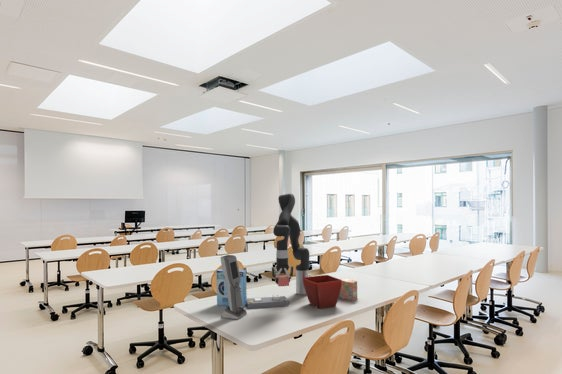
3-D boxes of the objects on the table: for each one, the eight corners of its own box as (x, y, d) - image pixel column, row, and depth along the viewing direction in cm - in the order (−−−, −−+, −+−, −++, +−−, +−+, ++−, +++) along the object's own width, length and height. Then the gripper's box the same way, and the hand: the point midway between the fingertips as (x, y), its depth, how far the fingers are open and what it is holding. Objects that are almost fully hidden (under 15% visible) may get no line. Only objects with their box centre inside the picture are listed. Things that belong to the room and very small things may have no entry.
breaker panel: (284, 300, 231) (284, 294, 232) (288, 305, 220) (288, 299, 220) (246, 303, 227) (246, 297, 227) (247, 308, 215) (247, 302, 215)
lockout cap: (286, 282, 219) (286, 275, 220) (289, 285, 212) (289, 277, 212) (276, 283, 218) (276, 275, 218) (278, 286, 210) (278, 278, 211)
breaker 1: (260, 301, 225) (260, 298, 225) (261, 303, 220) (261, 300, 220) (254, 302, 224) (254, 298, 225) (255, 304, 219) (255, 300, 220)
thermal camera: (229, 311, 210) (228, 254, 211) (247, 313, 205) (247, 255, 207) (218, 317, 199) (218, 257, 201) (238, 320, 194) (237, 258, 196)
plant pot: (302, 302, 226) (302, 277, 226) (327, 299, 233) (326, 274, 234) (316, 311, 208) (316, 283, 209) (343, 307, 215) (342, 280, 216)
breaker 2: (278, 298, 227) (278, 294, 227) (279, 300, 222) (279, 296, 222) (272, 298, 227) (272, 295, 227) (273, 301, 222) (273, 297, 222)
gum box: (246, 305, 222) (246, 270, 223) (243, 307, 217) (243, 271, 218) (220, 303, 228) (219, 268, 229) (216, 305, 223) (216, 270, 224)
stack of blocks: (326, 295, 243) (326, 278, 244) (331, 293, 248) (331, 276, 248) (353, 300, 229) (352, 282, 230) (357, 298, 234) (357, 280, 234)
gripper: (292, 255, 221) (292, 281, 220) (270, 256, 218) (270, 282, 217) (294, 257, 213) (295, 284, 213) (271, 258, 211) (272, 285, 210)
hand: (282, 283), depth 215 cm, fingers closed on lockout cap, 6 cm apart
